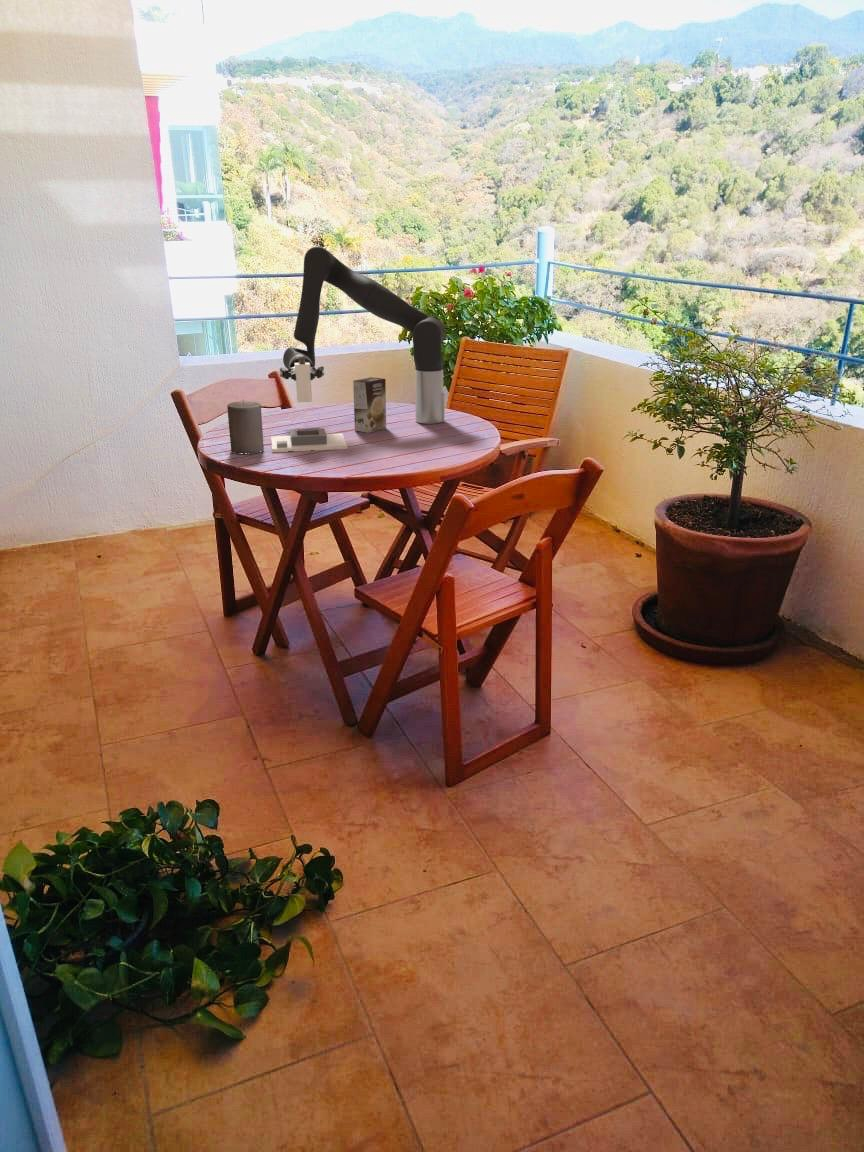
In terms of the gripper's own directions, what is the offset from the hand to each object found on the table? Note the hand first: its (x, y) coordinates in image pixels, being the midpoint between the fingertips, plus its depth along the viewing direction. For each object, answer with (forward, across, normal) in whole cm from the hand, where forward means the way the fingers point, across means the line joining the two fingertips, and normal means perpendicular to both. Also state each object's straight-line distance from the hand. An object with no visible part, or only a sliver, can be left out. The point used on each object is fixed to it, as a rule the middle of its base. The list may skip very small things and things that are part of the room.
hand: (303, 376), depth 246 cm
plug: (-2, 0, +8) cm, 8 cm away
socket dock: (+2, 0, +20) cm, 20 cm away
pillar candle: (+6, -18, +20) cm, 27 cm away
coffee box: (-14, +21, +20) cm, 33 cm away
